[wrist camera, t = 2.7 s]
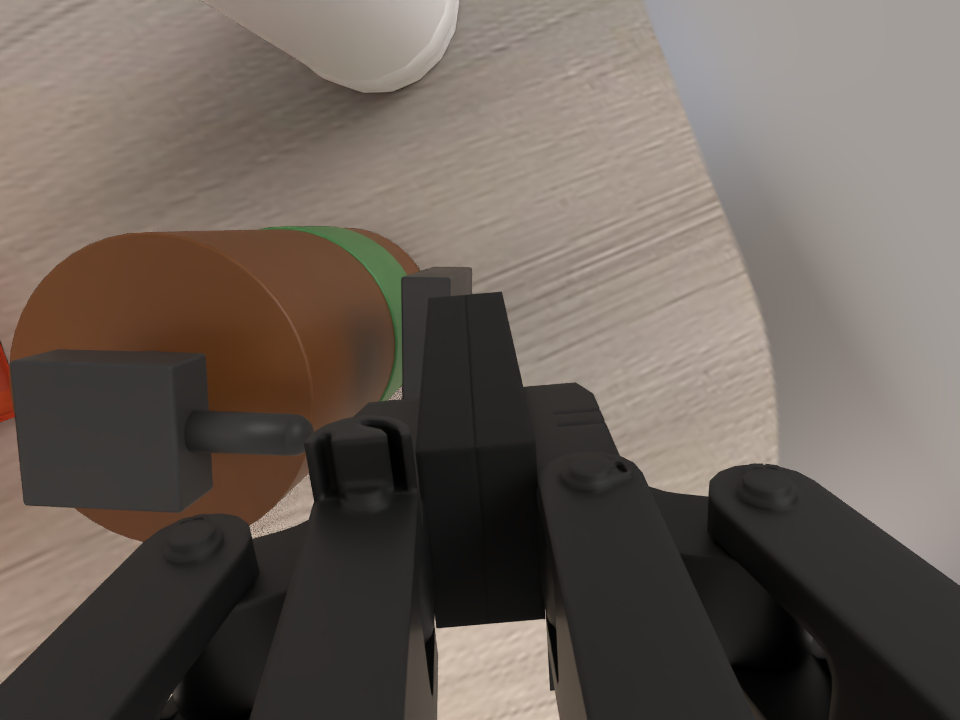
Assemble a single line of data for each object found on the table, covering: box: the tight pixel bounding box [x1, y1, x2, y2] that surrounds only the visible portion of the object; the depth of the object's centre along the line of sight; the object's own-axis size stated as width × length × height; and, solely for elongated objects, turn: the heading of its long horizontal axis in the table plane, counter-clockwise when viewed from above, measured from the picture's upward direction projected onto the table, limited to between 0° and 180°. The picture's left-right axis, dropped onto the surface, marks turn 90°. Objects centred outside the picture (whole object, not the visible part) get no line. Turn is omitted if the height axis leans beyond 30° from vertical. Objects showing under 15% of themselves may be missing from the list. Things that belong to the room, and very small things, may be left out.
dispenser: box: [9, 226, 420, 542], centre depth 27 cm, size 10×9×22 cm
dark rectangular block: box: [401, 267, 472, 399], centre depth 24 cm, size 1×6×5 cm, turn 0°
